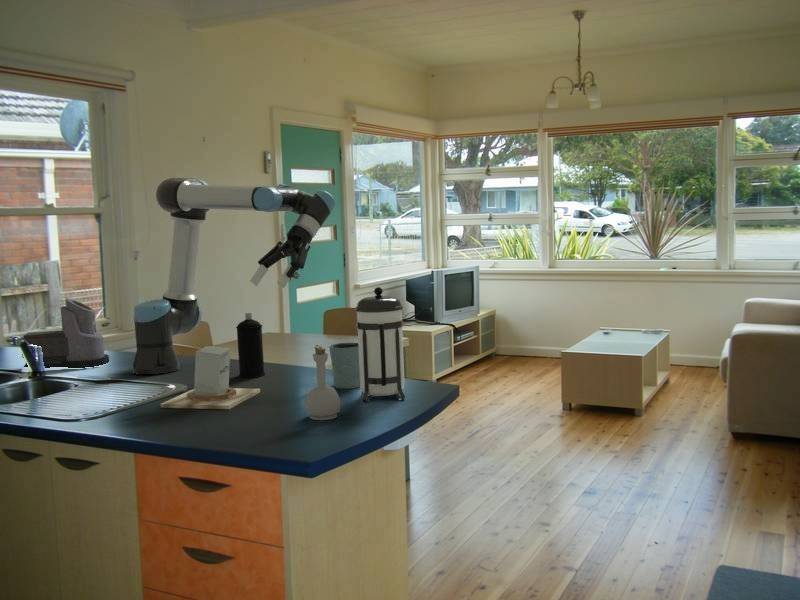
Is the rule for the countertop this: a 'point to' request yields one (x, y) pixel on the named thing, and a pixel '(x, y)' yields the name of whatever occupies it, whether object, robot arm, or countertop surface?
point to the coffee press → (380, 346)
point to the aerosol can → (250, 348)
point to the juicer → (71, 339)
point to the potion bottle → (322, 392)
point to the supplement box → (211, 371)
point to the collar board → (211, 399)
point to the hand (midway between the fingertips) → (266, 284)
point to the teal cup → (345, 365)
